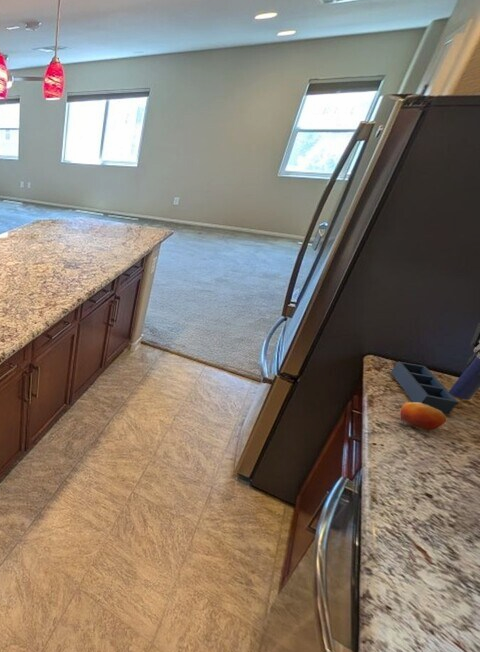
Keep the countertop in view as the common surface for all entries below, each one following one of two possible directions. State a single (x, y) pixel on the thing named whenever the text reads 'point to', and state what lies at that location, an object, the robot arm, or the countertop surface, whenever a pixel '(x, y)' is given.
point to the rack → (423, 386)
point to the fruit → (422, 416)
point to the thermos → (468, 381)
